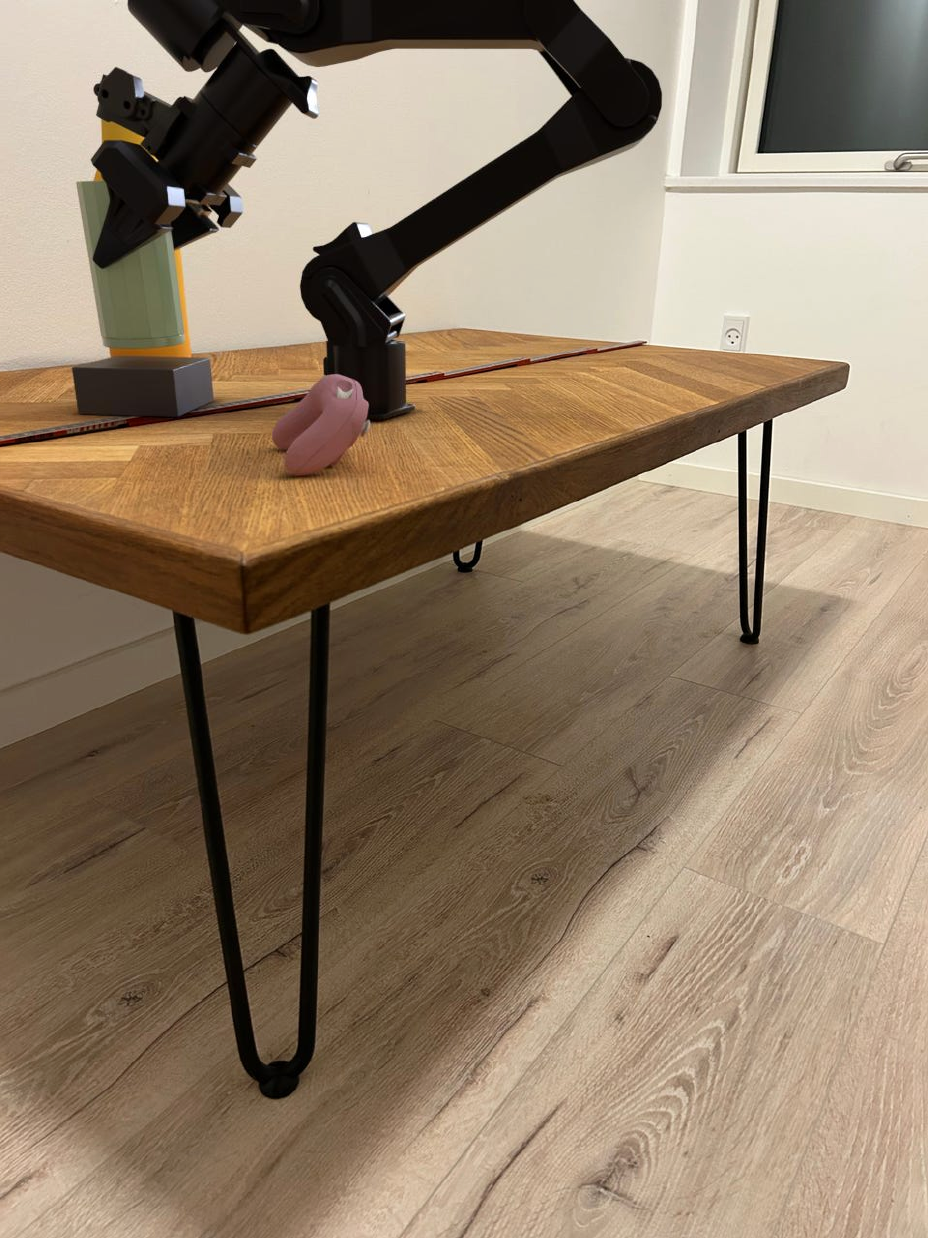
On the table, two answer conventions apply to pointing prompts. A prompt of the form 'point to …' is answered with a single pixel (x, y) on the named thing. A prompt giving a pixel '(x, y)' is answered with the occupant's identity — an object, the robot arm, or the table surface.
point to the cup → (132, 283)
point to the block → (143, 386)
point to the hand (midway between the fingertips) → (117, 263)
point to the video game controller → (322, 425)
